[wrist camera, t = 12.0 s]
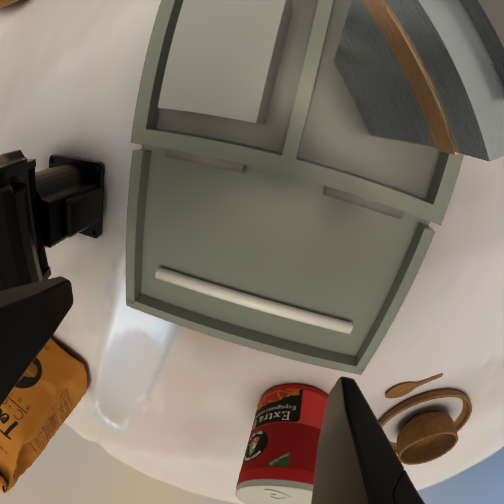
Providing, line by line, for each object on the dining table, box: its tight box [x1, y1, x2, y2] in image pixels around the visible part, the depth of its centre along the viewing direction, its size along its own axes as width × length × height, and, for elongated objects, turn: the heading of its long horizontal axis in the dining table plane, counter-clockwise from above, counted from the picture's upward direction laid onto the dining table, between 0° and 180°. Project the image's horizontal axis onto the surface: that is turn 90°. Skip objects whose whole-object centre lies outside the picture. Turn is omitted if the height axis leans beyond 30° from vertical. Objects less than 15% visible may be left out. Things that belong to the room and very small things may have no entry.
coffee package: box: [0, 338, 88, 493], centre depth 23 cm, size 10×12×22 cm
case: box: [126, 0, 464, 375], centre depth 17 cm, size 20×26×4 cm
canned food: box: [236, 384, 328, 504], centre depth 22 cm, size 8×8×11 cm
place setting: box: [379, 373, 472, 465], centre depth 25 cm, size 18×20×6 cm
